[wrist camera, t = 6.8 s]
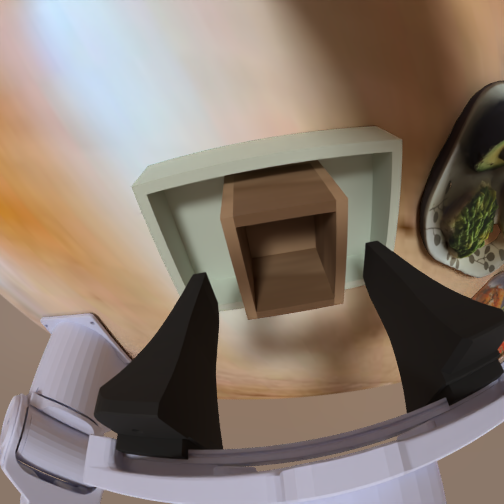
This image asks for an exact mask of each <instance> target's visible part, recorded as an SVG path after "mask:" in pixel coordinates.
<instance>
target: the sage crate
mask: <svg viewBox="0 0 504 504" xmlns="http://www.w3.org/2000/svg"><path fill="white" fill-rule="evenodd" d="M311 160H318V161H319V162H320V163H321V165H322V166H323V167H324V168H325V170H326V171H327V172H328V173H329V174H330V176H331V177H332V178H333V180H334V181H335V182H336V183H337V185H338V186H339V187H340V188H341V190H342V191H343V192H344V194H345V195H346V196H347V198H348V237H347V260H346V276H345V289H349V288H354V287H359V286H363V285H365V282H364V279H363V267H364V256H365V243H367V242H372V241H379V242H380V243H382V244H383V245H385V246H386V247H387V248H389V249H390V250H391V251H393V252H394V245H395V238H396V230H397V222H398V213H399V202H400V189H401V173H402V139H400V138H398V137H396V136H395V135H393V134H391V133H389V132H387V131H385V130H383V129H381V128H379V127H377V126H368V127H353V128H341V129H331V130H321V131H313V132H305V133H297V134H290V135H283V136H277V137H271V138H265V139H259V140H254V141H248V142H243V143H238V144H233V145H228V146H223V147H219V148H214V149H210V150H206V151H201V152H197V153H193V154H189V155H185V156H182V157H178V158H174V159H170V160H167V161H163V162H160V163H156V164H153V165H149V166H148V167H147V168H146V169H145V171H144V172H143V173H142V174H141V175H140V177H139V178H138V179H137V180H136V182H135V183H134V184H133V185H132V189H133V192H134V194H135V197H136V199H137V202H138V204H139V207H140V209H141V212H142V214H143V217H144V219H145V221H146V224H147V226H148V228H149V231H150V233H151V235H152V238H153V240H154V242H155V244H156V247H157V249H158V251H159V253H160V255H161V258H162V260H163V262H164V264H165V266H166V268H167V271H168V273H169V275H170V277H171V279H172V281H173V283H174V285H175V287H176V289H177V291H178V293H179V295H180V296H181V294H182V293H183V291H184V289H185V287H186V286H187V284H188V282H189V280H190V278H191V277H192V275H193V274H197V273H203V272H206V273H207V276H208V278H209V281H210V283H211V286H212V289H213V291H214V294H215V296H216V299H217V301H218V308H219V311H226V310H233V309H239V308H244V304H243V301H242V297H241V294H240V290H239V287H238V283H237V279H236V276H235V272H234V269H233V265H232V262H231V258H230V254H229V251H228V247H227V243H226V240H225V236H224V232H223V229H222V225H221V221H220V213H221V203H222V194H223V185H224V176H225V175H230V174H235V173H240V172H245V171H250V170H256V169H261V168H267V167H273V166H278V165H284V164H291V163H297V162H304V161H311Z"/></svg>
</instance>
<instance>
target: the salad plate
mask: <svg viewBox="0 0 504 504" xmlns="http://www.w3.org/2000/svg"><path fill="white" fill-rule="evenodd" d="M450 183H451V187H450ZM496 223H497V224H498V225H499V228H500V230H501V232H500V234H499V236H498V237H497V239H496V240H494V241H493V242H491V243H490V244H488V245H485V246H484V244H485V242H484V240H486V239H488V236H489V233H491V232H492V231H493V225H494V224H496ZM420 229H421V236H422V239H423V243H424V246H425V248H426V249H427V251H428V252H429V254H430V255H431V256H432V257H433V258H434V259H435V260H437V261H439V262H441V263H443V264H445V265H448V266H450V267H453V268H455V269H457V270H460V271H461V272H463V273H464V274H467V275H470V276H474V277H477V278H481V277H484V276H487V275H489V274H491V273H492V272H494V271H495V270H496V269H498V268H499V267H500V266H501V265H503V264H504V81H497V82H494V83H490V84H488V85H487V86H485V87H483V88H482V89H481V90H479V91H478V92H477V93H476V94H475V95H474V96H473V97H472V98H471V99H470V101H469V102H468V104H467V105H466V107H465V108H464V110H463V112H462V114H461V115H460V117H459V118H458V120H457V121H456V123H455V125H454V127H453V129H452V131H451V134H450V136H449V138H448V139H447V141H446V143H445V145H444V147H443V148H442V150H441V152H440V154H439V156H438V158H437V160H436V162H435V163H434V166H433V168H432V170H431V173H430V175H429V178H428V181H427V184H426V188H425V191H424V194H423V197H422V201H421V205H420Z"/></svg>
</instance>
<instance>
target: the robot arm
mask: <svg viewBox="0 0 504 504" xmlns="http://www.w3.org/2000/svg"><path fill="white" fill-rule="evenodd" d="M363 279H364V282H365V285H366V288H367V291H368V293H369V296H370V298H371V300H372V302H373V304H374V306H375V308H376V310H377V312H378V314H379V316H380V318H381V321H382V323H383V325H384V327H385V329H386V331H387V333H388V336H389V338H390V341H391V344H392V347H393V350H394V354H395V357H396V361H397V364H398V368H399V372H400V376H401V381H402V385H403V390H404V396H405V402H406V409H407V414H404V415H401V416H398V417H396V418H393V419H390V420H387V421H384V422H381V423H377V424H374V425H371V426H367V427H364V428H360V429H357V430H353V431H349V432H346V433H341V434H337V435H333V436H328V437H324V438H318V439H313V440H308V441H302V442H297V443H289V444H282V445H274V446H266V447H255V448H242V449H225V450H224V449H223V446H222V438H221V431H220V423H219V414H218V403H217V388H216V358H217V345H218V333H219V308H218V301H217V299H216V296H215V294H214V291H213V289H212V286H211V283H210V281H209V278H208V276H207V273H206V272H203V273H197V274H193V275H192V277H191V278H190V280H189V282H188V284H187V286H186V287H185V289H184V291H183V293H182V294H181V296H180V298H179V300H178V301H177V303H176V305H175V306H174V308H173V310H172V311H171V313H170V314H169V316H168V317H167V319H166V320H165V322H164V323H163V325H162V326H161V328H160V329H159V330H158V332H157V333H156V335H155V336H154V337H153V338H152V340H151V341H150V342H149V343H148V344H147V345H146V347H145V348H144V349H143V350H142V351H141V352H140V353H139V354H138V355H137V356H136V357H135V358H134V359H133V360H131V359H130V358H129V357H128V356H127V355H126V353H125V352H124V351H123V350H122V349H121V348H120V347H119V345H118V344H117V343H116V342H115V341H114V339H113V338H112V337H111V336H110V335H109V333H108V332H107V331H106V330H105V328H104V327H103V326H102V325H101V323H100V322H99V321H98V319H97V318H96V317H95V316H94V315H93V314H91V313H87V314H77V315H66V316H54V317H42V319H41V323H42V324H43V325H44V326H45V328H46V329H47V330H48V331H49V332H50V333H51V334H52V335H51V337H50V339H49V342H48V344H47V346H46V349H45V351H44V354H43V356H42V359H41V361H40V364H39V366H38V369H37V372H36V374H35V377H34V380H33V383H32V386H31V388H30V392H29V394H28V395H26V396H25V395H24V394H19V395H16V396H14V397H13V399H12V401H11V402H10V405H9V407H8V410H7V413H6V415H5V419H4V422H3V426H2V431H1V438H0V465H1V468H2V470H3V471H4V473H5V474H6V476H7V477H8V478H9V479H10V481H11V482H12V483H13V485H14V486H15V487H16V488H17V490H18V491H19V492H20V493H21V500H20V504H100V501H101V499H102V495H103V492H104V490H108V491H112V492H116V493H119V494H123V495H128V496H132V497H137V498H143V499H148V500H154V501H160V502H166V503H175V504H447V503H446V498H445V493H444V489H443V484H442V480H441V475H440V471H439V468H438V463H437V460H439V459H441V458H444V457H446V456H447V455H449V454H451V453H453V452H455V451H457V450H459V449H460V448H462V447H464V446H466V445H468V444H469V443H471V442H473V441H474V440H476V439H478V438H479V437H481V436H482V435H484V434H486V433H487V432H489V431H490V430H492V429H493V428H495V427H496V426H497V425H499V424H500V423H502V422H503V421H504V361H503V362H502V363H501V364H500V362H499V360H498V358H499V357H500V353H499V351H498V348H499V347H500V345H501V344H502V343H503V341H504V312H503V310H502V309H500V308H497V307H493V306H490V305H487V304H483V303H481V302H478V301H475V300H473V299H470V298H468V297H466V296H463V295H461V294H459V293H457V292H455V291H453V290H451V289H449V288H447V287H445V286H443V285H442V284H440V283H438V282H436V281H435V280H433V279H431V278H430V277H428V276H427V275H425V274H424V273H422V272H421V271H419V270H418V269H416V268H415V267H413V266H412V265H410V264H409V263H408V262H406V261H405V260H404V259H402V258H401V257H399V256H398V255H397V254H395V253H394V252H393V251H391V250H390V249H389V248H387V247H386V246H385V245H383V244H382V243H380V242H379V241H372V242H367V243H365V256H364V267H363ZM110 430H112V431H114V432H116V433H117V434H118V436H117V440H116V439H114V438H110V437H105V436H104V433H105V432H108V431H110ZM400 434H401V435H400ZM398 435H399V436H398ZM395 436H398V437H397V440H396V441H392V442H388V443H385V444H382V445H379V446H375V447H372V448H369V449H365V450H362V451H358V452H355V453H351V454H347V455H343V456H339V457H334V458H330V459H326V460H320V461H315V462H309V463H305V464H300V465H295V466H291V467H286V468H281V469H274V470H267V471H260V472H257V471H256V468H254V467H246V466H259V465H269V464H279V463H287V462H294V461H301V460H307V459H312V458H318V457H322V456H327V455H332V454H336V453H341V452H344V451H349V450H352V449H356V448H360V447H364V446H367V445H370V444H374V443H377V442H380V441H383V440H386V439H389V438H392V437H395ZM17 459H18V460H20V461H22V462H24V463H25V464H28V465H29V466H32V467H34V468H36V469H38V470H40V471H42V472H45V473H47V474H49V475H52V476H54V477H57V478H59V479H62V480H64V481H67V482H64V481H61V480H58V479H56V478H53V477H51V476H48V475H46V474H44V473H42V472H39V471H37V470H35V469H33V468H31V467H28V466H27V465H25V464H22V463H21V462H20V461H18V460H17Z"/></svg>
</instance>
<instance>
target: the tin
mask: <svg viewBox="0 0 504 504" xmlns="http://www.w3.org/2000/svg"><path fill="white" fill-rule="evenodd" d="M471 299H473V300H475V301H478V302H481V303H483V304H487V305H490V306H493V307H497V308H500V309H502V310H503V312H504V272H501V273H499V274H497V275H495V276H493V277H492V278H491V279H490V280H489V281H488V282H487V283H486V284H485V285H484V286H483V287H482V288H481V289H480V290H479V291H478V292H477V293H476V294H475V295H474V296H473V297H472V298H471ZM498 351H499V353H500V357H499V358H498V360H501V359H502V358H503V357H504V341H503V343H502V344H501V345H500V347H499V348H498Z"/></svg>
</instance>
